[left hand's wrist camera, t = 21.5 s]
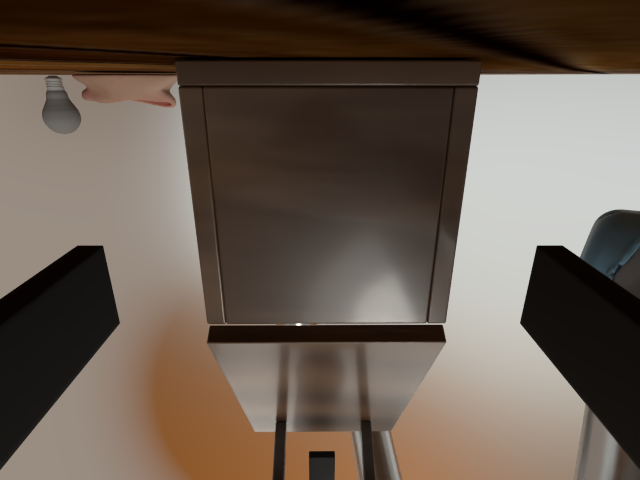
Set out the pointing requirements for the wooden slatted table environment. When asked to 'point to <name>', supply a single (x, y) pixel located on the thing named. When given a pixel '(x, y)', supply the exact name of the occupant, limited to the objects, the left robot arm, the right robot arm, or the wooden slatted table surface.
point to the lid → (325, 377)
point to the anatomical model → (129, 88)
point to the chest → (327, 186)
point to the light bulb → (59, 108)
